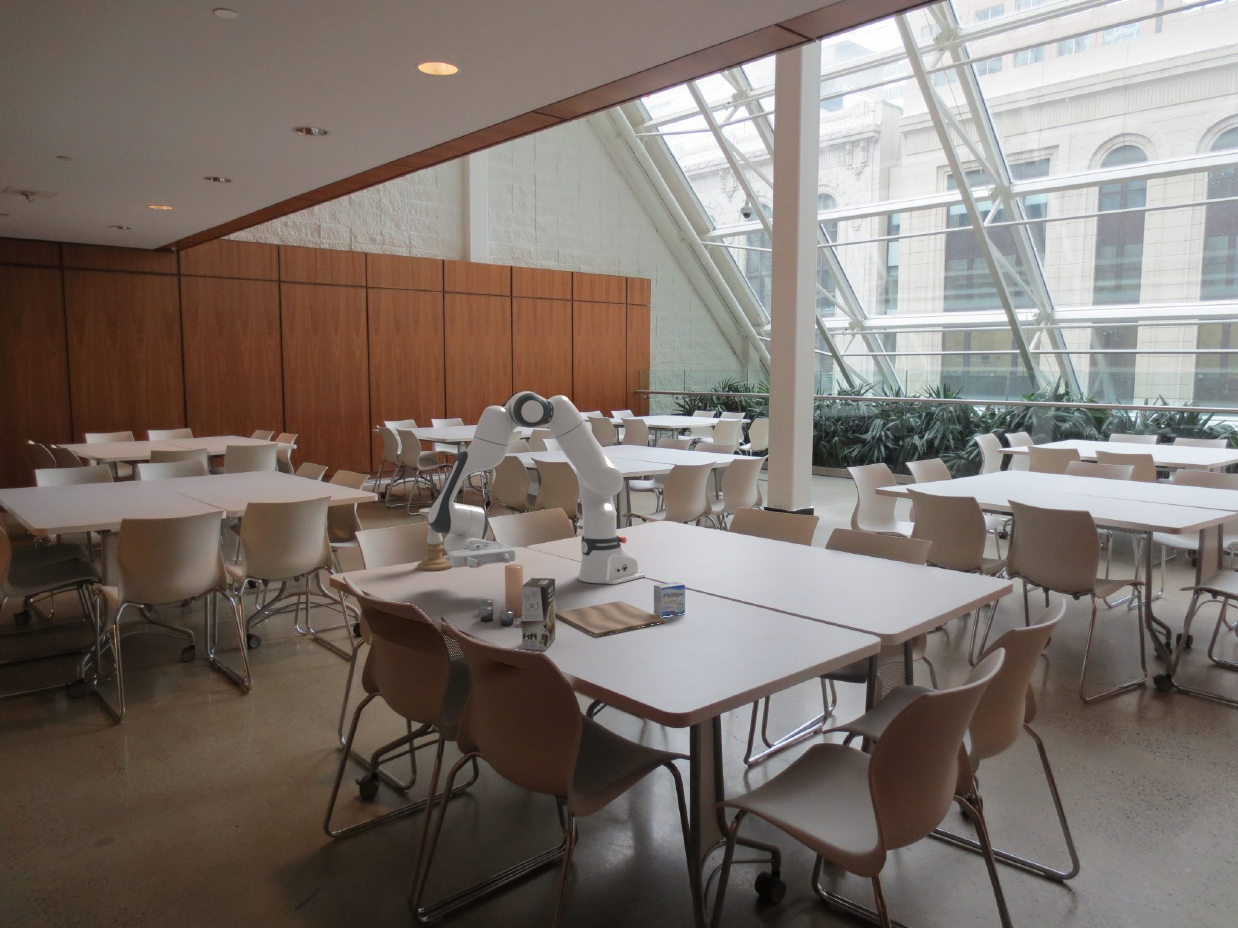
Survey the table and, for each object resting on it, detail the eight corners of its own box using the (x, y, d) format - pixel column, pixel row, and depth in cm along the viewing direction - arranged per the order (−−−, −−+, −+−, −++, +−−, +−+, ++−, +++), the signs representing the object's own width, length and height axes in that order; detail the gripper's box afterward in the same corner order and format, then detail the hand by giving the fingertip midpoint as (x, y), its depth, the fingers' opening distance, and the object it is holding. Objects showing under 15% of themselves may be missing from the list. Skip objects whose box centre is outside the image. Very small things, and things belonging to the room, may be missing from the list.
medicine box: (661, 618, 236) (661, 587, 235) (653, 614, 240) (653, 584, 239) (685, 614, 240) (685, 584, 239) (677, 610, 244) (677, 580, 243)
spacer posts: (533, 602, 251) (533, 591, 251) (564, 618, 236) (564, 605, 235) (468, 613, 240) (468, 601, 239) (496, 630, 224) (496, 617, 224)
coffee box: (546, 651, 209) (545, 587, 207) (521, 649, 210) (520, 585, 208) (556, 639, 218) (556, 577, 216) (532, 637, 219) (531, 576, 217)
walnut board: (620, 604, 250) (620, 600, 250) (664, 623, 232) (664, 619, 231) (554, 616, 238) (554, 612, 238) (596, 637, 219) (596, 633, 219)
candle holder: (436, 561, 304) (435, 505, 302) (460, 565, 297) (459, 509, 295) (409, 567, 294) (408, 510, 292) (434, 572, 287) (432, 514, 285)
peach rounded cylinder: (518, 611, 242) (517, 563, 240) (526, 615, 238) (525, 567, 236) (502, 614, 239) (501, 565, 238) (510, 618, 235) (509, 569, 234)
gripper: (441, 546, 253) (459, 554, 242) (503, 539, 264) (523, 547, 253) (441, 566, 254) (459, 576, 242) (503, 559, 265) (523, 568, 254)
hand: (492, 561), depth 248 cm, fingers open, 8 cm apart
